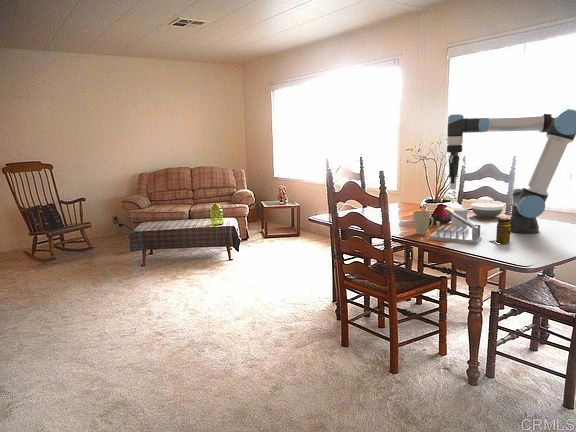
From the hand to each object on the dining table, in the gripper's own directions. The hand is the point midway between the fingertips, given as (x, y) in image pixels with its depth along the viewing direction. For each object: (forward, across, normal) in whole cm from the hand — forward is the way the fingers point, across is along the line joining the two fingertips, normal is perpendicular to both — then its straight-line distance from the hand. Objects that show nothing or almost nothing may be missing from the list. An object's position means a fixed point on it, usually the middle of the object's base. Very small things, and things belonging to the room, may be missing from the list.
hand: (453, 189), depth 220 cm
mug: (+25, +7, -13) cm, 29 cm away
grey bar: (+15, +12, +7) cm, 20 cm away
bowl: (+25, -51, +8) cm, 58 cm away
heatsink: (+24, +12, +5) cm, 27 cm away
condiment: (+25, +8, +26) cm, 37 cm away
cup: (+25, -9, +2) cm, 26 cm away
